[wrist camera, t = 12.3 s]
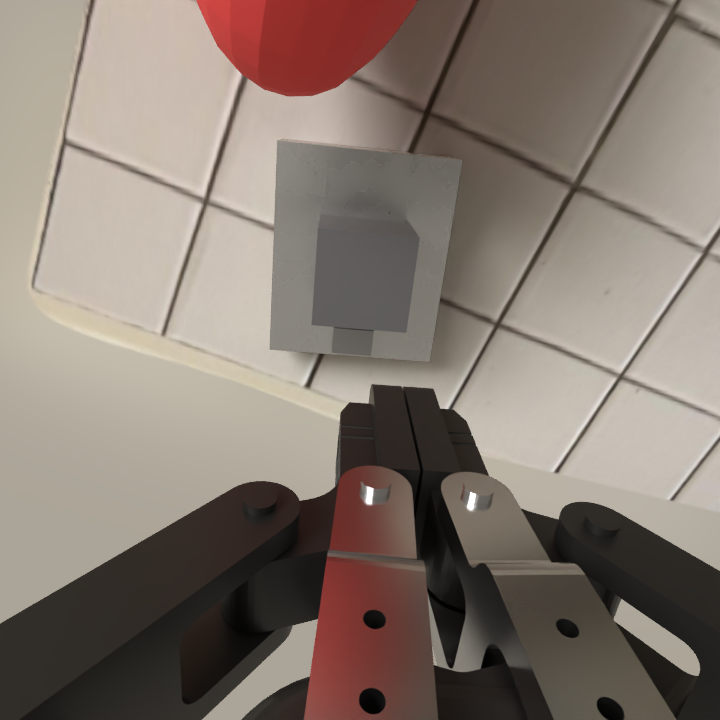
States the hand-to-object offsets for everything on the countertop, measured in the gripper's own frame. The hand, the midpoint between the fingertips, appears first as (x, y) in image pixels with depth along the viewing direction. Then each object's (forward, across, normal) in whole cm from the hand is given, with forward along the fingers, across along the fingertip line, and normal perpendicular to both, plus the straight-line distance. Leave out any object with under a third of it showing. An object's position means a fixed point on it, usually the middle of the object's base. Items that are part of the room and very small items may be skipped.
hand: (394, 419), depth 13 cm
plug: (+22, 0, +1) cm, 22 cm away
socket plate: (+23, 0, +1) cm, 23 cm away
